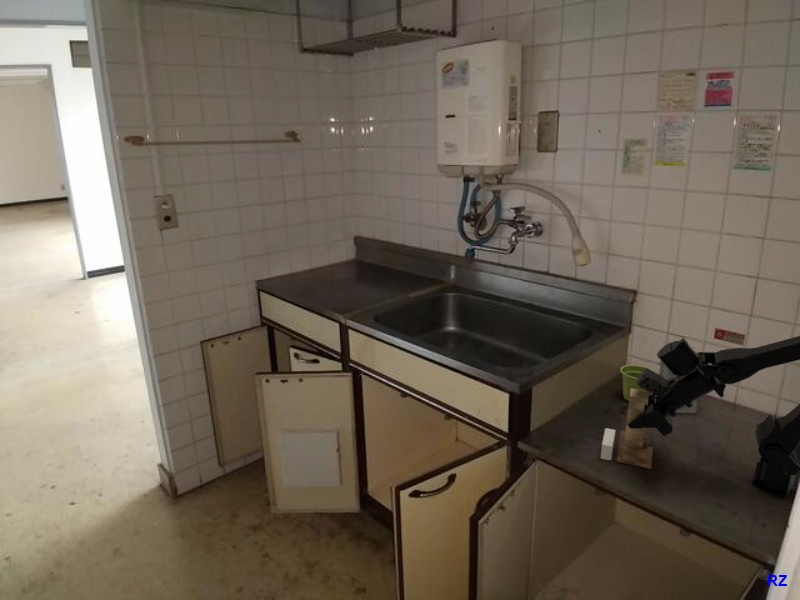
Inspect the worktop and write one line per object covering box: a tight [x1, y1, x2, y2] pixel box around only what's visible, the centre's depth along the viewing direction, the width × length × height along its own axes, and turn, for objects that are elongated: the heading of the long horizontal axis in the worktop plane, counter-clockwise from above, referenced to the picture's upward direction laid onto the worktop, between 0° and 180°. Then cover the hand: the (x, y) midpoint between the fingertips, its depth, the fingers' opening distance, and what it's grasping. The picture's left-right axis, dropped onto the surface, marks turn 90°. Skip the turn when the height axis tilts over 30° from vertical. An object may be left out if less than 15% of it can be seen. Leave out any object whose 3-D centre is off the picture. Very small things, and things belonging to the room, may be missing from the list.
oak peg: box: [624, 389, 649, 449], centre depth 132 cm, size 4×4×15 cm
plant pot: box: [620, 364, 654, 402], centre depth 161 cm, size 9×9×9 cm
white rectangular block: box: [600, 427, 616, 461], centre depth 137 cm, size 2×8×4 cm, turn 155°
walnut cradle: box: [616, 430, 653, 470], centre depth 134 cm, size 8×8×4 cm
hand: (629, 422), depth 133 cm, fingers closed on oak peg, 4 cm apart
